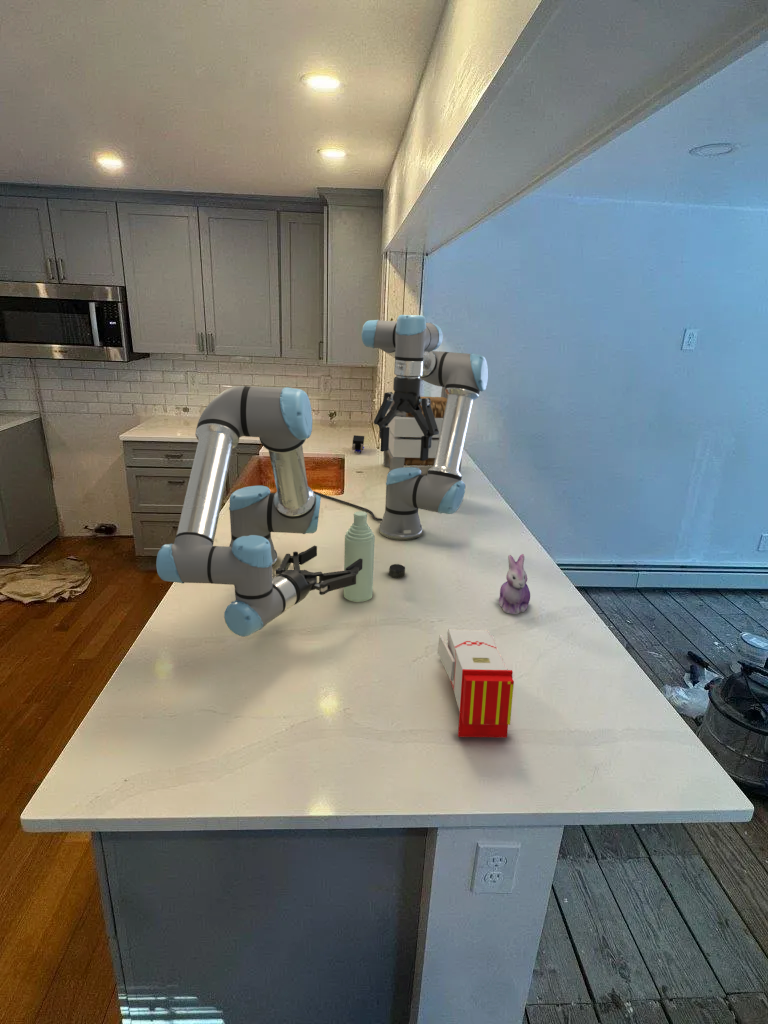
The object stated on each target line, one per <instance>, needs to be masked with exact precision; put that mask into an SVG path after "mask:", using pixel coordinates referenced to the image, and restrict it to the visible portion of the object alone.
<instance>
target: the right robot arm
mask: <svg viewBox="0 0 768 1024" xmlns="http://www.w3.org/2000/svg"><path fill="white" fill-rule="evenodd" d="M443 340H444V334H443V330H442V329H441V327H440V326H439V325H437V323H433V322H427V319H426V317H425V316H424V315H418V314H417V315H415V314H399V315H398V316H397V318H396V321H395V320H381V319H371V320H370V319H369V320H367V321H365V322H364V324H363V326H362V328H361V341H362V344H363V345H364V346H365V347H367V348H371V349H379V350H380V351H382V352H385V353H386V354H388V355H389V356H390V357H392V358H394V368H393V369H394V370H393V374H394V375H395V376H394V377H393V385H392V386H393V388H392V389H393V390H392V391H394V392H392V391H388V392H384V393H383V399H382V400H383V401H382V403H381V404H380V407H379V409H378V411H377V413H376V415H375V417H374V420H373V424H374V425H376V426H377V427H378V428H379V429H378V430H379V431H378V432H379V433H378V438H379V439H380V452H383V453H384V451H387V450H388V449H389V427H386V426H387V425H388V424H389V423H390V422H391V420H392V419H393V418H394V417H395V416H396V414H397V413H398V412H406V413H411V415H413V416H414V418H415V420H416V421H417V423H418V425H419V427H420V429H421V430H422V432H423V434H424V436H422V437H421V452H420V460H421V461H423V460H427V459H428V451H429V448H431V442H432V436H433V435H437V434H439V430H438V427H437V424H436V421H435V418H434V415H433V412H432V408H431V399H430V398H421V397H422V396H421V393H422V389H423V381H424V382H426V383H428V384H430V385H433V386H436V387H441V388H442V387H445V393H446V394H447V396H448V398H447V403H446V408H445V413H444V417H443V422H442V427H441V432H440V437H439V441H438V446H437V451H436V456H435V461H434V465H433V466H432V465H431V466H430V468H428V469H427V472H426V474H422V470H421V468H419V467H415V466H406V467H405V466H404V468H397V469H393V470H391V471H390V470H389V471H388V473H387V475H386V480H385V481H386V482H385V504H384V505H385V507H384V508H385V509H384V513H383V515H382V517H381V518H380V517H376V516H375V514H374V512H373V511H372V510H370V509H369V508H366V507H363V506H360V505H357V504H355V503H351V502H349V501H345V500H342V499H339V498H336V497H333V496H330V495H327V494H323V493H320V492H317V491H315V490H312V491H313V493H314V494H316V495H320V497H323V498H326V499H329V500H332V501H336V502H338V503H341V504H344V505H347V506H350V507H354V508H356V509H359V510H361V511H364V512H366V513H369V514H370V515H371V517H372V519H373V520H374V521H378V522H379V525H378V533H379V534H380V535H381V536H382V537H385V538H387V539H389V540H395V541H410V540H415V539H418V538H420V537H421V536H422V535H423V525H422V524H421V518H420V515H419V510H423V511H428V512H434V513H437V514H440V515H442V514H444V515H453V514H455V513H456V512H457V511H458V510H459V508H460V507H461V505H462V502H463V500H464V497H465V492H466V483H465V482H464V481H463V480H462V478H463V476H462V473H461V474H460V472H459V466H460V461H461V458H462V457H463V449H464V447H465V442H466V437H467V432H468V427H469V422H470V417H471V412H472V407H473V403H474V402H475V400H476V399H478V398H479V396H480V392H485V391H486V389H487V387H488V381H489V367H488V362H487V359H486V357H485V356H484V355H482V354H477V353H473V352H471V353H465V352H453V351H440V350H439V351H438V350H437V349H438V348H439V347H441V345H442V343H443ZM393 400H394V402H395V404H394V405H393V406H392V407H391V410H390V411H389V412H388V414H387V415H386V413H387V411H388V409H389V407H390V405H391V402H392V401H393ZM420 403H421V404H420ZM419 404H420V405H421V406H422V410H423V413H424V416H425V418H424V416H423V414H422V410H421V408H420V407H419ZM415 410H416V411H415Z"/></svg>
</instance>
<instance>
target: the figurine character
mask: <svg viewBox="0 0 768 1024" xmlns="http://www.w3.org/2000/svg"><path fill="white" fill-rule="evenodd" d="M364 443H365V435H353V437H352V444H351V445H352V446H351V450H352V451H354V454H357V453H359V454H362V451H364V449H365V446H364Z"/></svg>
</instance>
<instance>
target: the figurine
mask: <svg viewBox="0 0 768 1024" xmlns="http://www.w3.org/2000/svg"><path fill="white" fill-rule="evenodd" d="M507 561H508V562H507V563H508V571H507V573H506V576H505V578H506V581H505V582H504V583H503V584H501V586H500V588H499V589H500V590H499V598H498V605H499V607H500V608H501V609H502V611H503V612H504V613H507V614H511V615H518V614H519V613H525V612H526V611H527V609H528V607H529V604H530V601H531V591H530V588H529V585H528V584H527V582H528V575H527V571H526V570H525V568H524V567H525V566H524V563H525V554H524V553H521V554H520V555H519V557H518V558H517V560H515V559H514V557H513V556H512V555H511V554H509V555H508V556H507Z"/></svg>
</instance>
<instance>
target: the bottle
mask: <svg viewBox="0 0 768 1024" xmlns="http://www.w3.org/2000/svg"><path fill="white" fill-rule="evenodd" d="M375 538H376V537H375V533H374V532H373V530H372V528H371V526H370V525H369V523H368V512H367V511H364V510H358V511H357V510H356V511H355V512H354V513H353V522H352V524H351V525H350V527H349V528H348V530H346V532H345V535H344V559H343V560H344V561H343V562H344V563H343V571H345V570H346V568H347V567H348V566H350V565H351V564H352V563H354V562H355V561H357V560H358V559H360V558H361V559H363V562H362V570H360V571H359V573H358V574H357V575H356V584H355V585H351V586H347V587H344V588H343V597H344V598H345V599H346V600H348V601H350V602H355V603H363V602H367V601H369V600H371V599H373V598H372V597H373V593H374V592H373V591H374V590H373V589H374V588H373V587H374V569H375V568H374V565H375V541H376V539H375Z"/></svg>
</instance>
